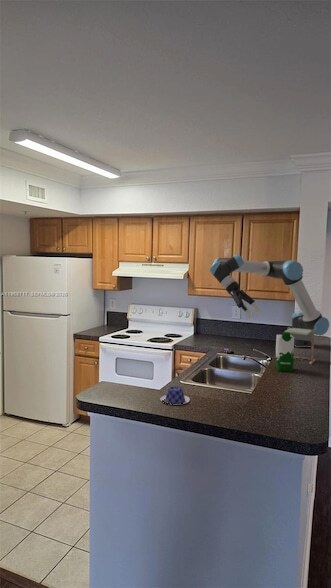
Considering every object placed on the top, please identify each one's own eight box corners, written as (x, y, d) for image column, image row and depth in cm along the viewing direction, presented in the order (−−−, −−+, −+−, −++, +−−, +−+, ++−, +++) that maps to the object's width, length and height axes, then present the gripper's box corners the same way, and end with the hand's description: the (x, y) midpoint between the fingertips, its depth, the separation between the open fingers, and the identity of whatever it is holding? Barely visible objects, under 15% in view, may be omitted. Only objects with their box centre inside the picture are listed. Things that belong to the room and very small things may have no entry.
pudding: (156, 397, 156) (156, 384, 156) (184, 394, 159) (184, 382, 159) (164, 407, 144) (165, 394, 144) (194, 404, 148) (194, 391, 147)
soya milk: (277, 371, 194) (278, 333, 193) (273, 366, 203) (275, 330, 202) (294, 372, 193) (296, 333, 192) (290, 367, 202) (291, 330, 201)
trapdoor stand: (289, 357, 225) (290, 325, 223) (315, 360, 217) (316, 328, 215) (284, 360, 216) (285, 328, 214) (311, 364, 208) (312, 330, 206)
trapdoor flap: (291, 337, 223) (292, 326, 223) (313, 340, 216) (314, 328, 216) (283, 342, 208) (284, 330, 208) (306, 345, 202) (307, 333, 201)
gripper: (234, 288, 224) (258, 315, 217) (216, 290, 203) (241, 320, 196) (243, 280, 220) (267, 307, 213) (225, 281, 199) (252, 311, 192)
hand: (255, 313), depth 204 cm, fingers open, 13 cm apart
